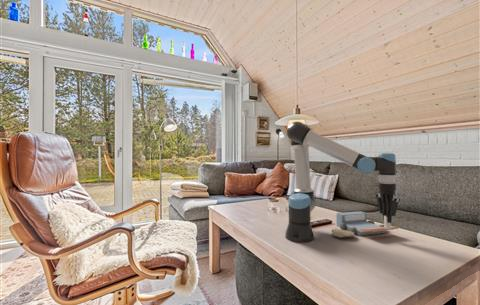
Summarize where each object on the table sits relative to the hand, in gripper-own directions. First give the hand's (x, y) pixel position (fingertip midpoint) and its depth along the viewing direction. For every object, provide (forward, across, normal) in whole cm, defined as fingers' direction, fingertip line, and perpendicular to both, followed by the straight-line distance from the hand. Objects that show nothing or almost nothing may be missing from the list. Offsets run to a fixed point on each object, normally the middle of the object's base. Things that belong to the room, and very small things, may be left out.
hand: (387, 228), depth 120 cm
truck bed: (+7, +17, 0) cm, 18 cm away
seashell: (+8, +12, +14) cm, 20 cm away
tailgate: (+4, +9, 0) cm, 10 cm away
